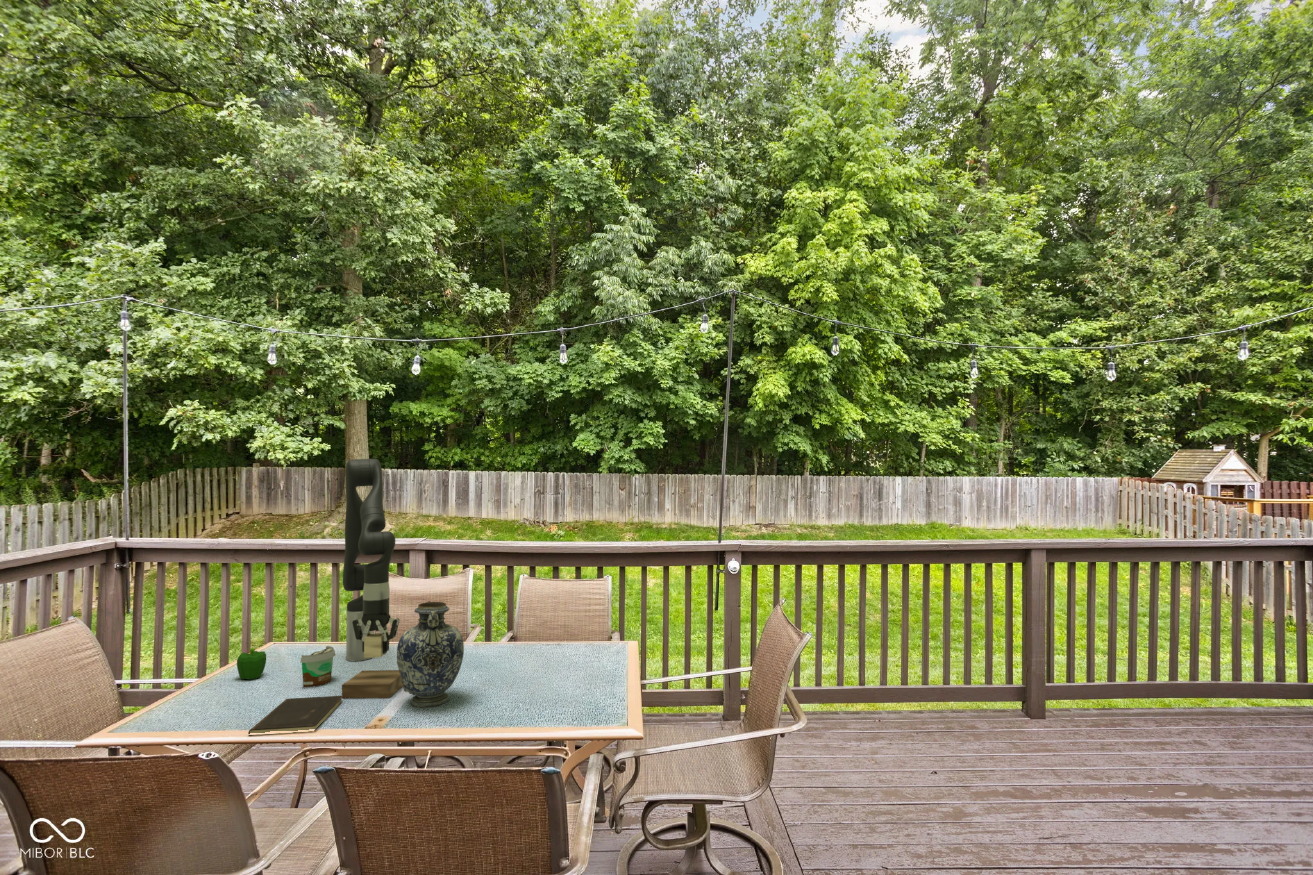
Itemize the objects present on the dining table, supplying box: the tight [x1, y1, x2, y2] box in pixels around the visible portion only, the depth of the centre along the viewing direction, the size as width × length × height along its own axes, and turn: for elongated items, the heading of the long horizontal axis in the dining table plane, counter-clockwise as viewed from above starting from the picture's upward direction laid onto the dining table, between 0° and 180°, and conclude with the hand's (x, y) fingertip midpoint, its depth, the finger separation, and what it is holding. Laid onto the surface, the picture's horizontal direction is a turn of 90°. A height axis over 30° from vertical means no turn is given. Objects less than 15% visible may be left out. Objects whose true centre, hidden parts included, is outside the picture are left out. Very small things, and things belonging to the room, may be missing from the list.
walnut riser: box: [341, 669, 403, 700], centre depth 205 cm, size 14×14×4 cm
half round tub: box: [300, 645, 336, 688], centre depth 213 cm, size 12×6×10 cm, turn 168°
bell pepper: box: [236, 647, 267, 681], centre depth 218 cm, size 8×8×10 cm
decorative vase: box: [396, 600, 465, 708], centre depth 196 cm, size 21×19×28 cm
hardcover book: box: [248, 695, 343, 734], centre depth 183 cm, size 16×23×2 cm
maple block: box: [364, 632, 387, 658], centre depth 205 cm, size 5×5×6 cm
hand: (375, 652), depth 205 cm, fingers closed on maple block, 5 cm apart
